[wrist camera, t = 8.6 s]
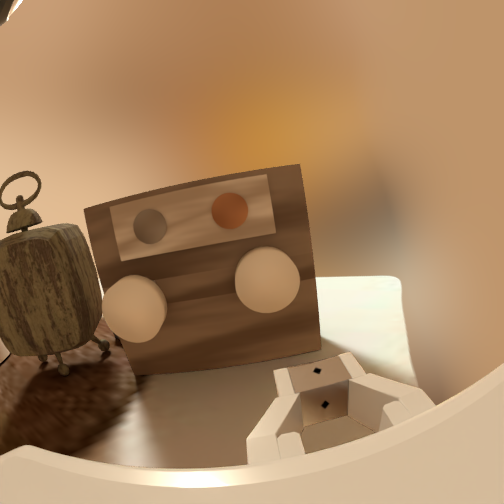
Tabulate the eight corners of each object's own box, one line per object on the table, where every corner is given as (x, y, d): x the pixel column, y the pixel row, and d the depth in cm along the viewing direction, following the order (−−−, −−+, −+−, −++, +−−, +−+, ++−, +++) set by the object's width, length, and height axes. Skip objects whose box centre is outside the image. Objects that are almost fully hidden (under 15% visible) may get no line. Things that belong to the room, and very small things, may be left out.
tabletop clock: (120, 342, 34) (75, 160, 29) (112, 378, 26) (51, 147, 20) (39, 357, 30) (-7, 191, 25) (19, 390, 22) (-42, 190, 16)
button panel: (322, 351, 26) (301, 163, 22) (133, 377, 26) (81, 209, 22) (311, 331, 31) (290, 167, 27) (144, 356, 30) (101, 206, 26)
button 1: (169, 339, 21) (151, 277, 19) (113, 344, 20) (93, 287, 19) (183, 306, 27) (170, 257, 26) (137, 313, 27) (123, 265, 26)
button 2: (303, 306, 23) (295, 245, 22) (241, 318, 23) (229, 257, 22) (288, 281, 29) (281, 233, 28) (239, 290, 29) (230, 242, 28)
